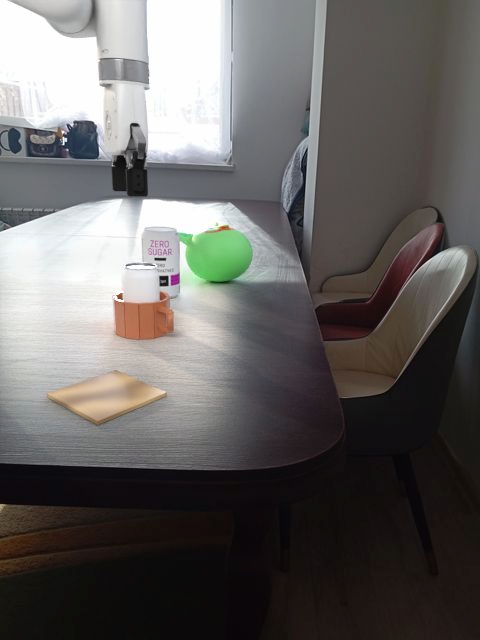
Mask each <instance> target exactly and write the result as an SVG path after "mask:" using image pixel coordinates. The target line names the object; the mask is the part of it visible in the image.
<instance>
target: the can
mask: <svg viewBox="0 0 480 640" xmlns="http://www.w3.org/2000/svg"><path fill="white" fill-rule="evenodd" d="M123 267H124V268H123V270H122V272H121V289H122V292H123V301H125V302H134V303H146V302H156V301H160V286H159V273H158V271H157V269H156V267H157V266H156V265H155V264H152V263H143V262H142V261H140V262H129V263H125V264H124V265H123Z"/></svg>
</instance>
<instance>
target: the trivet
mask: <svg viewBox="0 0 480 640" xmlns="http://www.w3.org/2000/svg"><path fill="white" fill-rule="evenodd" d="M167 394H168V393H167V392H166V391H164V390H163V389H160V388H158V387H156V386H153V385H151V384H148V383H146V382H143V381H142V380H139V379H137V378H135V377H132V376H131V375H128V374H126V373H123V372H121V371H119V370H116V369H114V370H111V371H109V372H105V373H103V374H100V375H96V376H93V377H91V378H88V379H85V380H81V381H79V382H76V383H73V384H70V385H68V386H63V387H61V388H58V389H55V390H52V391H50V392H46V398H48V399H49V400H51V401H54V402H55V403H57V404H58V405H60V406H62V407H64V408H66V409H67V410H69V411H71V412H73V413H74V414H76V415H78V416H80V417H82V418H83V419H85V420H87V421H89V422H91V423H93V424H94V425H96V426H100V425H102V424H105V423H107V422H110V421H112V420H114V419H116V418H118V417H121V416H123V415H126V414H128V413H130V412H132V411H135V410H138V409H140V408H142V407H144V406H147V405H149V404H152V403H154V402H156V401H158V400H161V399H163V398H166V397H167V396H168V395H167Z"/></svg>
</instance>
